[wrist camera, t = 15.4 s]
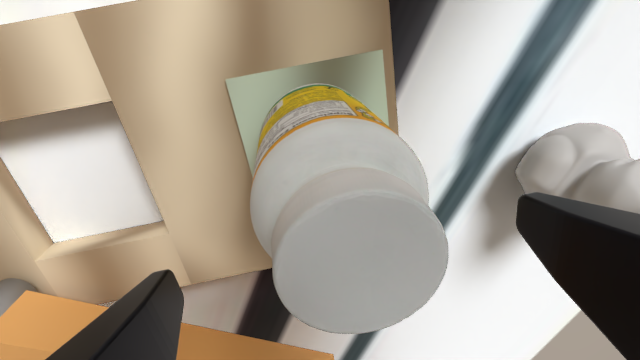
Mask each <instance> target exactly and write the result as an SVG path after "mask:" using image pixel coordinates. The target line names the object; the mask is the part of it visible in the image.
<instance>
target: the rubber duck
mask: <svg viewBox="0 0 640 360" xmlns="http://www.w3.org/2000/svg"><path fill="white" fill-rule="evenodd" d="M515 174H516V177H517V179H518V180H519V182H520V183H521V185H522V188H523V190H524V192H525V193H526V194H529V193H533V192H540V193H545V194H549V195H554V196H559V197H563V198H568V199H573V200H577V201H582V202H587V203H592V204H596V205H601V206H606V207H610V208H615V209H620V210H624V211H629V212H634V213H639V214H640V159H638V160H634V159H632V158H631V157H630V154H629V152H628V148H627V146H626V143H625V141H624V139H623V137H622V136H621V134H620V133H619V132H617V131H616V130H614V129H612V128H610V127H608V126H605V125H602V124H597V123H577V124H573V125H569V126H566V127H562V128H558V129H555V130H553V131H550V132H548V133H546V134H545V135H543V136H542V137H541V138H540V139H539V140H538V141H537V142H536V143H535V144H534V145H532V146H531V147H530V148H529V149H528V151H527V152H526V154H525V155H524V157H523V158H522V160H521V161H520V163H519V164H518V166H517V168H516V171H515Z"/></svg>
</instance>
